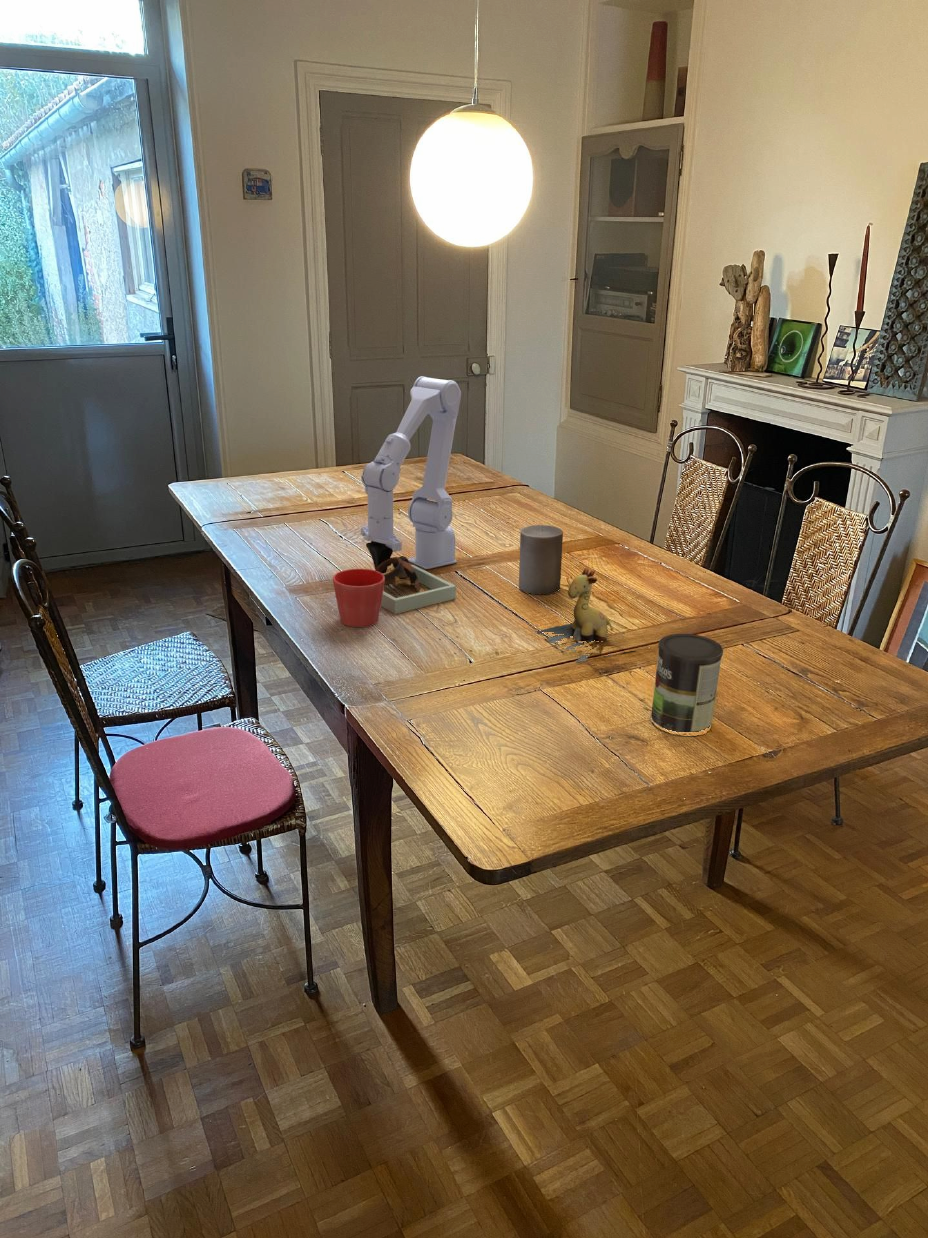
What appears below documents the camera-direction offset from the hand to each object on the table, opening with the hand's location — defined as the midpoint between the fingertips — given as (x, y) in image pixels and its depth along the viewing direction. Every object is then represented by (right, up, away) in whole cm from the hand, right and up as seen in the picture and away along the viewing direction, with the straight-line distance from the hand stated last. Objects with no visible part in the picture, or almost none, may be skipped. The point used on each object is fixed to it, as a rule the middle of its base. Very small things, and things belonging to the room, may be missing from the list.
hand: (381, 572), depth 217 cm
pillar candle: (+36, -4, 0) cm, 36 cm away
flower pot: (-3, -11, -21) cm, 24 cm away
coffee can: (+56, -28, -58) cm, 85 cm away
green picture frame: (+6, -5, -6) cm, 10 cm away
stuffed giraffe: (+45, -15, -27) cm, 55 cm away
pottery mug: (+4, -4, -2) cm, 6 cm away
